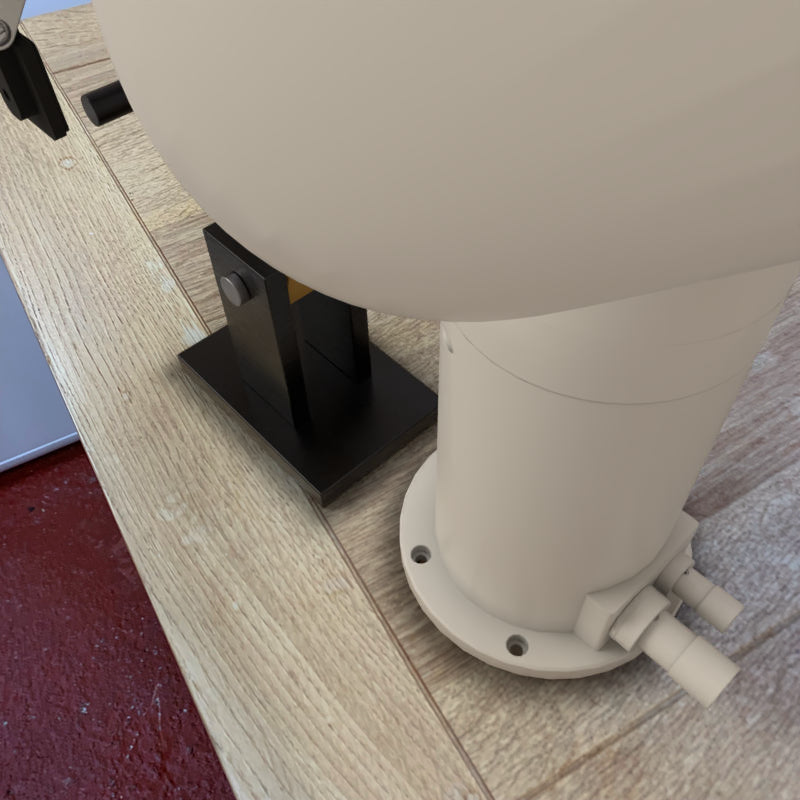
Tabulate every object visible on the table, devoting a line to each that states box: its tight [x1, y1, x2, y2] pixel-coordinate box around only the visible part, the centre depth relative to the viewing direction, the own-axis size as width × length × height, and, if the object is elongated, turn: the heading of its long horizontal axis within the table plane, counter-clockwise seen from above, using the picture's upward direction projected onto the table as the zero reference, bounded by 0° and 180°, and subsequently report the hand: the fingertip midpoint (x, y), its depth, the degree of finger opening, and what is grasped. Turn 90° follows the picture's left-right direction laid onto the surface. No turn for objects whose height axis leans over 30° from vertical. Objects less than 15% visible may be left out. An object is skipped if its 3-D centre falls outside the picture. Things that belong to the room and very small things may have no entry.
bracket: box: [176, 221, 438, 509], centre depth 37 cm, size 12×8×11 cm, turn 43°
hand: (146, 83), depth 35 cm, fingers open, 9 cm apart
